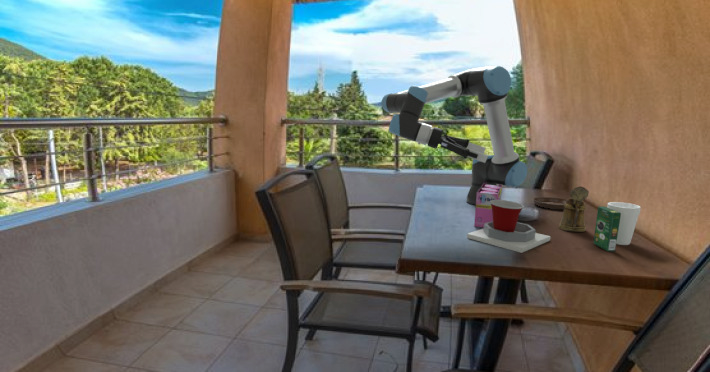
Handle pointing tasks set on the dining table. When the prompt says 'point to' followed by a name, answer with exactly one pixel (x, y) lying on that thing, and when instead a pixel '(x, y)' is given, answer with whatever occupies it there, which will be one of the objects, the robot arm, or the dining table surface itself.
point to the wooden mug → (574, 211)
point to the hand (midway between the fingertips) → (485, 155)
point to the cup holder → (510, 237)
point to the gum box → (486, 203)
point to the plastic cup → (505, 214)
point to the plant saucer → (539, 201)
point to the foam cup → (625, 220)
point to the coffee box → (606, 228)
